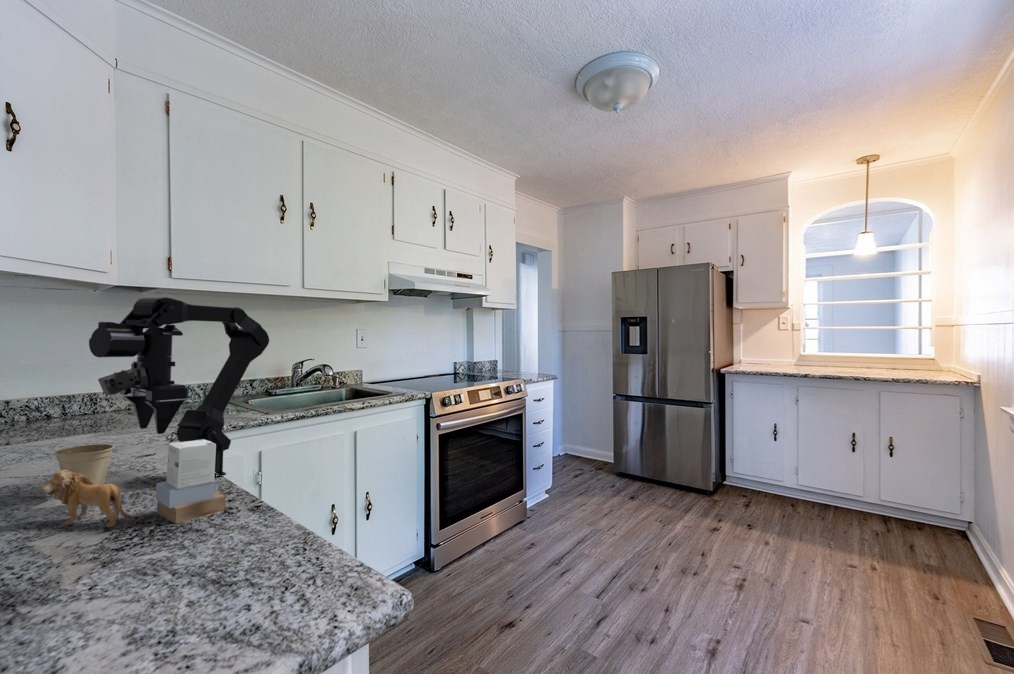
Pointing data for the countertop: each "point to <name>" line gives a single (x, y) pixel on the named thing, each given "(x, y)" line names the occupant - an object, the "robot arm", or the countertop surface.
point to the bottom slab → (192, 509)
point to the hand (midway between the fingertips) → (151, 431)
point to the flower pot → (86, 460)
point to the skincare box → (191, 463)
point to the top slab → (183, 494)
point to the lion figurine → (85, 495)
